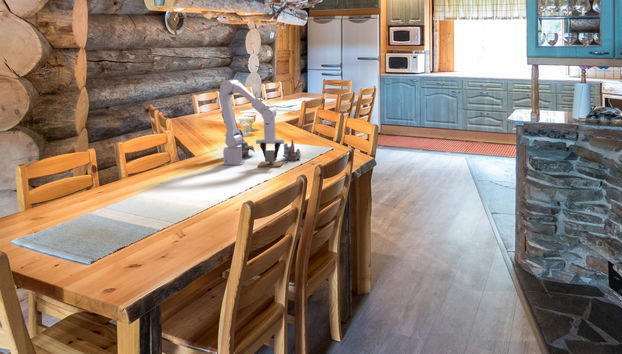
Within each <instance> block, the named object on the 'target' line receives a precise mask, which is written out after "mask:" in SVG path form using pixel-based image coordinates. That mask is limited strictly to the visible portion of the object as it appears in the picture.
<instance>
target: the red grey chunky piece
mask: <svg viewBox="0 0 622 354" xmlns="http://www.w3.org/2000/svg"><path fill="white" fill-rule="evenodd" d="M288 144H289V143H287V142H286V143H285V142H284V144H283V154H282V157H283V158H285V160H287V161H288V160H292V161H298V160H297V159H299V160H300V159H301V157H302V154H301V150H300V149H299V148H297V149H296V150H295V143H294V139H291V142H290V144H291V145H290V146H288Z"/></svg>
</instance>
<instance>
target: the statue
mask: <svg viewBox="0 0 622 354" xmlns="http://www.w3.org/2000/svg"><path fill="white" fill-rule="evenodd" d="M220 113H221V116H222V119H223V123H224V124H225V121H224V116H223V112H222V110H221V112H220ZM233 114H234V118H235V122H236V126H237V129H238V130H239V131H240V134H241V135H242V137H243V138H244V135H243V131H242V129H241V128H239V126H238V123H237V121H236V117H235V113H234V112H233ZM241 146H242V157H244V156H249V152H250V151H251V152H254V153H256V152H255V148H254V146H253V145H249V144H248V142H246V141H245V139H243V142H242V144H241Z"/></svg>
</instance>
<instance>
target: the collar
mask: <svg viewBox="0 0 622 354" xmlns="http://www.w3.org/2000/svg"><path fill="white" fill-rule="evenodd" d="M264 162H277V158H275V149H274V150H272V149H270V150H269V149H268V150H267V149H266V151H265V158H264Z"/></svg>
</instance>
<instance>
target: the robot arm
mask: <svg viewBox="0 0 622 354" xmlns="http://www.w3.org/2000/svg"><path fill="white" fill-rule="evenodd" d="M219 89H220V90H219V94H218V99H219V103H220V108H221V111H222V112H223V116H224V120H223V122H224V121H225V123H224V125H225V129H226V131H225V134H224V136H225V140H224V141H225V145H226V146H227V147H226V146H225V147H224V148H223V165H224V166H227V165H228V166H240V165H243V164H244V163H245V161H244V160H243V156H242V146H241V144H242V142H243V140H244V136H243V137H242V135H241V134H240V131H239V130H238V129H239V128H238V129H237V126H238V125H237V126H236V123H237V121H236V122H235V120H236V117H235V118H234V116H235V113H234V110H233V106H232V105H233V104H232V103H231V98H232V96H233V95H234V94H239V95H241V96H242V97H243V98H245V99H246V100H247V101H249V102H250V103H251V107H252V108H253V109H254V110H255V111H257V112H258V113H259V114H260V115H261V117H262V119H263V132H264V133H263V135H264V136H263V137H264V139H256V140H255V144H257V145H259V147H260V148H261V151H262V153H263V154H262V155H263V158H264V159H265V151H266V150H267V144H268V145H269V144H271V145H273V144H274V146H273V147H274V150H275V158H276V159H277V158H278V154H279V149H280V147H281V145H284V143H285V139H278V138H276V116H277V110H276V109H275V108H274V107H273V106H270V104H267V103H266V102H265V101H264V99H263V98H260V97H255V96H254V95H253V94H252V93H251V92H250V91H249V90H248V89H247V88H246V86H244V85H243V83H242V82H240V81H239V80H238V79H234V78H233V79H229V80H227V79H225V80H223V82H222V83H220V85H219ZM222 112H221V113H222ZM233 113H234V114H233Z"/></svg>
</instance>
